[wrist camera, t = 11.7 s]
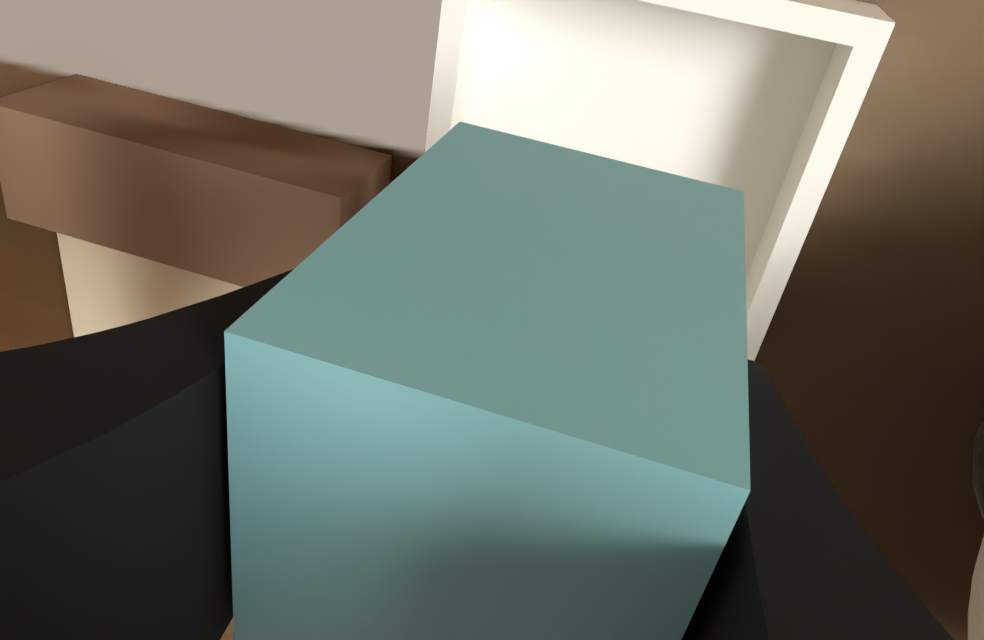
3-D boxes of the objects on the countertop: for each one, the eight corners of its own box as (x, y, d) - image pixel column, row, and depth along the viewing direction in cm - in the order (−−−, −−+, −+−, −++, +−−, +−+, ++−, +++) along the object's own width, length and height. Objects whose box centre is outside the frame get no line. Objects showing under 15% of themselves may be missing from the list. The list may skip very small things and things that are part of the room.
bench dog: (392, 155, 19) (340, 198, 17) (382, 260, 21) (334, 313, 18) (76, 74, 21) (-16, 102, 18) (89, 178, 22) (7, 217, 20)
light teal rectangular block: (661, 420, 12) (610, 790, 7) (428, 352, 13) (234, 652, 8) (743, 191, 10) (750, 490, 5) (460, 121, 11) (225, 330, 6)
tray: (876, 4, 15) (895, 22, 13) (740, 342, 19) (741, 392, 17) (483, -77, 16) (450, -71, 14) (437, 258, 20) (407, 297, 19)
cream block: (354, 248, 22) (322, 279, 20) (339, 482, 26) (312, 523, 25) (102, 179, 23) (51, 203, 21) (132, 414, 28) (92, 449, 26)
